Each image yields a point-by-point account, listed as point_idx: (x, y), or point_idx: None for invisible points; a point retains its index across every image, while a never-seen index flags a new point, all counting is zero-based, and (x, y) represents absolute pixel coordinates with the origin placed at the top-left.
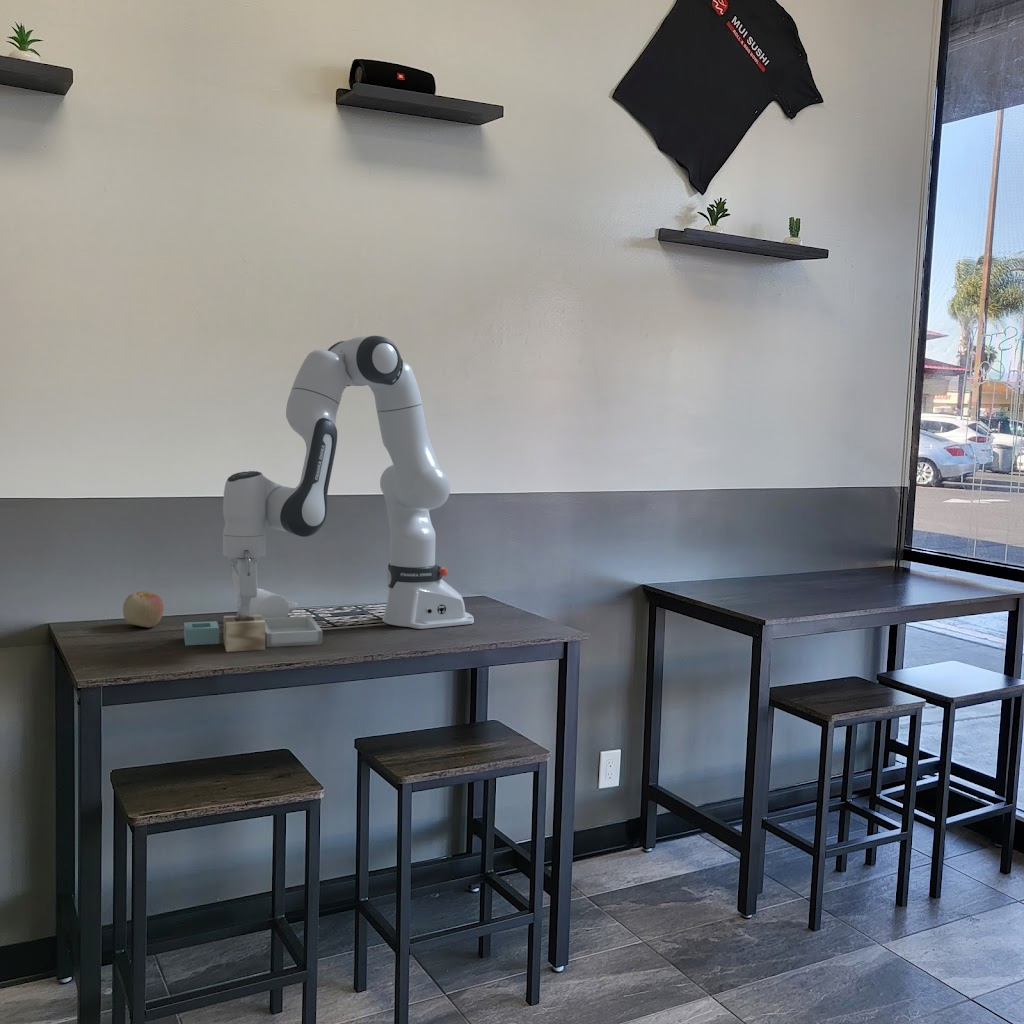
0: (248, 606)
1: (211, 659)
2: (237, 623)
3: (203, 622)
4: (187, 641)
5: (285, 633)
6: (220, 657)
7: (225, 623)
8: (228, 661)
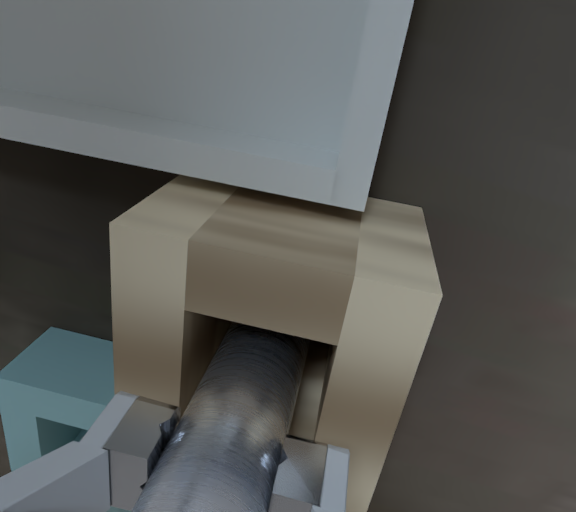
0: (342, 507)
1: (480, 473)
2: (380, 467)
3: (18, 433)
4: None
5: (399, 59)
6: (464, 436)
7: None
8: (566, 436)
